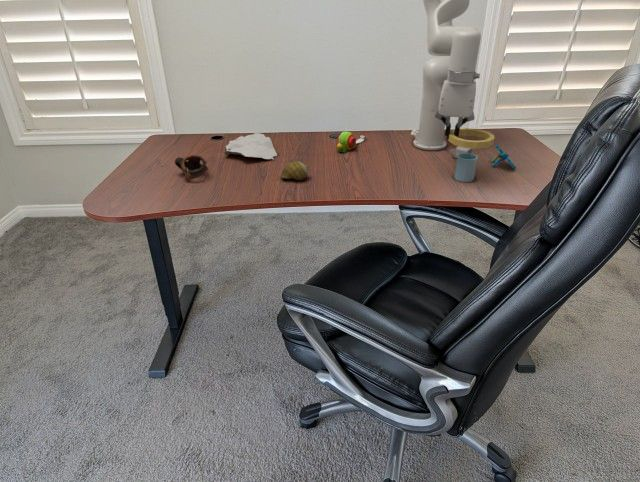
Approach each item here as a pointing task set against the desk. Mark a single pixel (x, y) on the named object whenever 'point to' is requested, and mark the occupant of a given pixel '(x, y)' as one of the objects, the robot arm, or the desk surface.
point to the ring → (470, 143)
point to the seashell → (295, 171)
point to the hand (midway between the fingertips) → (451, 138)
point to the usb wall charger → (461, 150)
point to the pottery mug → (192, 166)
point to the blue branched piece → (502, 157)
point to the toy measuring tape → (348, 141)
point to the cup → (466, 167)
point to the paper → (252, 146)
